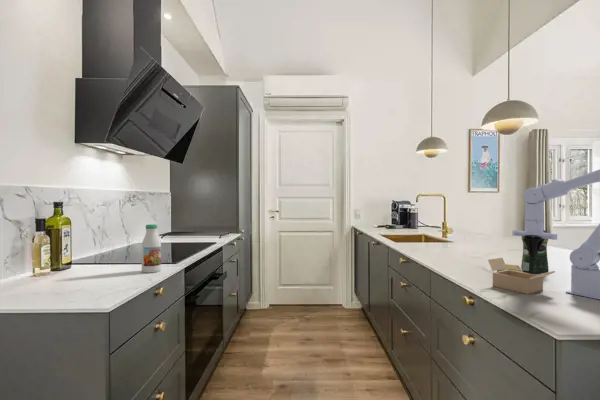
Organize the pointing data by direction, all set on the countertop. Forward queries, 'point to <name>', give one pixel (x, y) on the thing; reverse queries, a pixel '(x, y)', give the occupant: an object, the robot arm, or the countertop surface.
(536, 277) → the flap
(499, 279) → the brown carton
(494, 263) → the far flap
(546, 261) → the coffee jar
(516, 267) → the carton
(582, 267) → the robot arm
